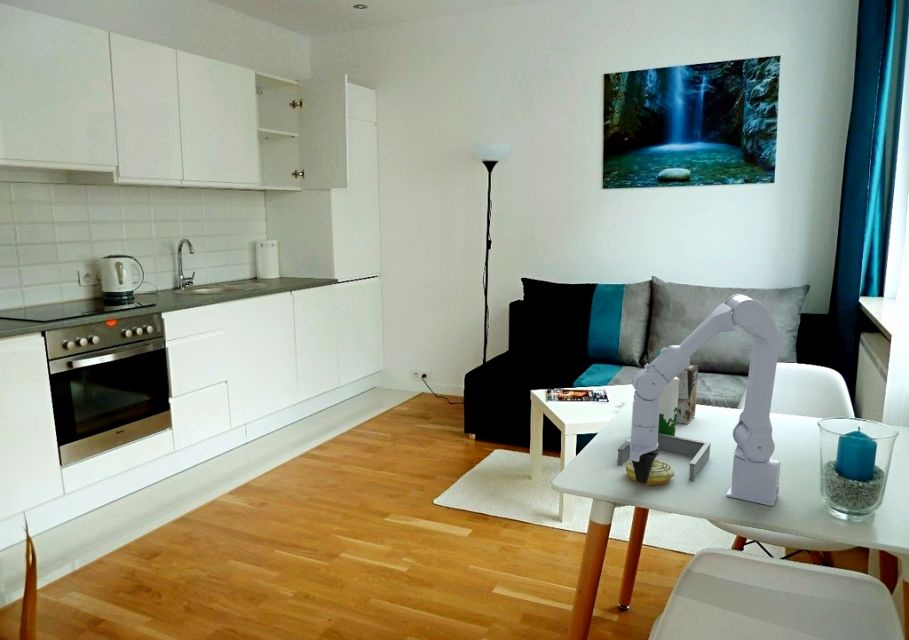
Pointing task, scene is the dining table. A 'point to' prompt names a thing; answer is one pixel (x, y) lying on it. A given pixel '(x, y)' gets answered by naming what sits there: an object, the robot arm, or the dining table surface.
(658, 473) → the decorated donut
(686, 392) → the coffee box
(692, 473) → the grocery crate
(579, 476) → the dining table surface
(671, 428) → the milk carton
